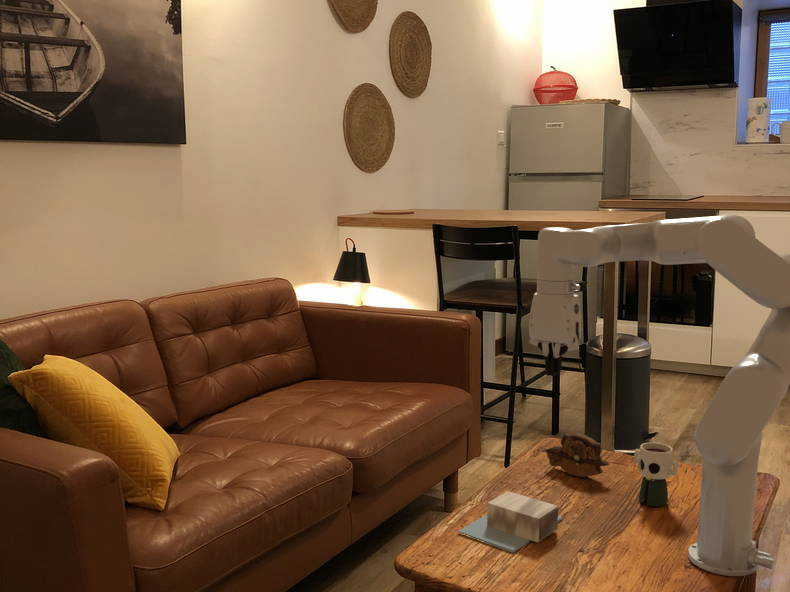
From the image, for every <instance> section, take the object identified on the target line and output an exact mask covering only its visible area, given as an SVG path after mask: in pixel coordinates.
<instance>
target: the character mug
mask: <svg viewBox="0 0 790 592" xmlns="http://www.w3.org/2000/svg"><path fill="white" fill-rule="evenodd" d="M673 456H674V449H673V447H672V446H670V445H668V444H665V443H661V442H644V443H642V444H640V446H639V449H638V448H637V449H636V448H635V450H634V456H633V458H634V462H635V464H637V468H638V472H639V473H640V475H641V476H642V479H641V484H640V488H639V494H638V501H639V502H641V503H642V504H644V503H645V501H646V505H648V506H652V507H661V506H662V507H663V506H664V505H666V504H667V503H668V502H669V492H668V483H667V480H666V479H669V478H670V477H672V476H674V477H677V474H678V473H679V472H678V470H679V469H678V468H679V463H678V462H677V461H675V460H674V459H673Z"/></svg>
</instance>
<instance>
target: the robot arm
mask: <svg viewBox="0 0 790 592" xmlns="http://www.w3.org/2000/svg"><path fill="white" fill-rule="evenodd" d="M632 261H633V262H635V261H645V262H646V261H649V262H654V263H656V264H659V265H664V266H665V265H666V266H668V265H684V264H685V265H687V264H708V265H709V267H711V269H713V270H715V271H716V273H718V274H720V276H721V277H723V278H724V279H726V280H727V281H728V282H730V283H731V284H732V285H733V286H735V287H736V288H737V289H738V290H739V291H741V292H742V293H743V294H744V295H746V296H747V297H749V298H750V299H751V300H752V301H754V302H755V303H757V304H759V305H760V306H762V307H765V308H768V309H771V311H770V312H769V315H768V316H767V318H766V320H765V321H764V323H763V325H762V326H761V328H760V330H759V332H758V334H757V336H756V338H755V340H754V341H753V342H752V344H751V346H750V347H749V349H748V351H747V352H746V353H745V355H744V356H743V357H742V358H741V359H740V360H739V361H738V362H737V363H736V364H735V365H733V367H731V369H730V370H729V371H728V373H727V374H726V375H725V377H724V379H723V380H722V382H721V384H720V385H719V388H718V389H717V390H716V392H715V394H714V396H713V397H712V399H711V400H710V403H709V404H708V406H707V408H706V409H705V411H704V413H703V415H702V416H701V418H700V420H699V422H698V423H697V424H696V428H695V431H694V444H695V446H696V449H697V452H698V453H699V454H700V455H701V457H702V470H701V471H702V472H701V479H700V480H701V482H700V483H701V484H700V496H699V497H700V498H699V513H698V525H697V526H698V527H697V537H696V538H697V540H696V542H695V543H692V544H691V545H690V546H689V547H688V549H687V557H688V559H689V560H690V562H691V563H692V564H694V565H695V566H697V567H698V568H700V569H701V570H704V571H706V572H708V573H709V572H710V573H712V574H716V575H721V576H725V577H726V576H727V577H745V576H750V575H752V574H755V573H756V572H757V571H758V569H759V566H760V567H762V568H765V569H768V570H773V569H774V566H775V559H774V558H772V554H771V553H768V552H767V551H766V552H765V551H761V550H759V549H758V548H756V547H757V546H756V545H757V541H755V540H753V539H752V538H753V527H754V515H755V512H754V511H755V499H756V491H757V490H756V489H757V480H758V479H757V477H758V470H759V460H760V453H761V447H762V440H763V431H764V429H765V428H766V426H767V425H768V423H769V421H771V418H772V416H773V415H774V414H775V412H776V410H777V409H778V407H779V405H780V403H781V402H782V400H783V399H784V397H785V395H786V394H787V392H788V390H789V387H790V254H788V253H787V254H786V253H784V254H778V253H777V252H775V251H773V250H772V249H770V248H769V247H768V246H766V245H765V244H764V243H762V242H761V241H760V240H759V239H757V238H756V232H755V229H754V226H753V225H752V224H751V222H750V221H749V220H748V219H747V218H745V217H743V216H741V215H736V214H735V215H734V214H725V215H713V216H700V217H699V216H697V217H686V218H685V217H684V218H673V219H672V218H671V219H669V218H668V219H662V220H655V221H652V222H651V221H650V222H644V223H643V222H642V223H640V222H639V223H629V224H618V225H617V224H616V225H615V224H613V225H601V226H595V227H591V228H583V229H575V230H574V229H572V228H569V227H559V226H558V227H552V226H551V227H544V228H542V229H540V231H539V232H538V235H537V262H536V263H537V266H536V267H537V270H536V272H537V273H536V292H535V293H533V296H532V300H531V306H530V314H529V324H528V325H529V326H528V332H529V333H528V334H529V337H530V339H529V344H530V345H532V346H534V347H537V348H539V350H540V351H541V352H542V355H543V357H544V358H545V359H544V370H545V371H546V373H545V375H546V376H548V377H549V376H551V377H553V378H554V377H556V376H559V375H560V373H561V372H562V367H563V366H562V364H563V362H562V361H563V360H562V359H563V356H564V355H565V354H567V352H568V351H569V352H570V351H577V350H579V349H580V344H579V343H580V342H579V341H580V340H581V339H582V316H581V313H582V312H581V305H580V300H579V295H578V294H575V293H576V292H577V291H578V292H579V291H580V289H581V285H580V284H579V283H576V279H575V273H576V272H575V270H576V269H575V266H577V267H583V268H591V267H597V266H599V265H602V264H606V263H612V262H613V263H617V262H632Z"/></svg>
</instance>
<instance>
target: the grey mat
mask: <svg viewBox="0 0 790 592" xmlns="http://www.w3.org/2000/svg"><path fill="white" fill-rule="evenodd" d="M561 521H563V516H561V515H558V523H559V522H561ZM458 532H460V533H462V534H465V535H468V536H470V537H473V538H476V539H479V540H481V541H484V542H486V543H488V544H487V545H489V544H490V545H489V546H491V545H493V546H492V547H494V546H495V547H494V548H497V547H498V548H497V549H501V550H502V551H506V552H509V553H512V554H514V553H516V552H517V551H519V550H520V549H521V548H523V547H524V546H526V545H527V544H528V543H530V542H532V540H529V539H526V538H523V537H520V536H517V535H514V534H511V533H508V532H505V531H502V530H499V529H496V528H493V527H490V526H487V514H485V515H483V516H481V517H480V518H479V519H477V520H475V521H473V522H471V523H469V524H468V525H466V526H464V527H463V528H461V529H459V530H458ZM458 532H457V533H458ZM486 543H485V544H486Z"/></svg>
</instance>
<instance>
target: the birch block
mask: <svg viewBox="0 0 790 592" xmlns="http://www.w3.org/2000/svg"><path fill="white" fill-rule="evenodd" d="M486 515H487V526H490V527H493V528H496V529H499V530H502V531H505V532H508V533H511V534H514V535H517V536H520V537H523V538H526V539H529V540H531V542H535V543H539V542H541V541H543V539H546V538H547V537H548V536H549V535H551V534H552V533H554V532H556V531H557V530H558V523H559V522H558V516H559V505H556V504H553V503H550V502H549V503H548V502H546V501H544V500H543V501H542V500H539V499H535V498H534V497H533V498H532V497H530V496H525V495H523V494H519V493H516V492H513V491H512V492H511V491H509V490H508V491H506V492H505V493H502V494H500V495H499V496H497V497H496V498H494V499H492V500H490V501H488V502H487V514H486Z"/></svg>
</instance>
